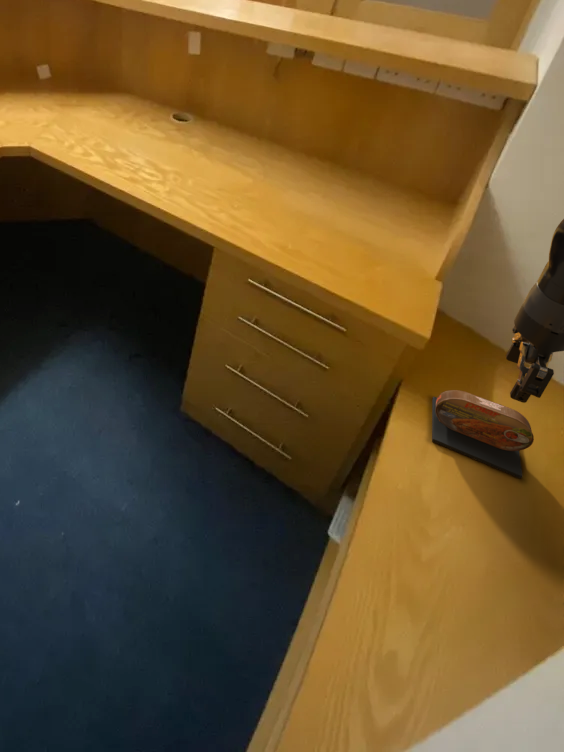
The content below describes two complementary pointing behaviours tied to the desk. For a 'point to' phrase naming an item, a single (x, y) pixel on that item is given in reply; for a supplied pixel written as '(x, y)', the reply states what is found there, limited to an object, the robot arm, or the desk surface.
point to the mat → (475, 447)
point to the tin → (484, 420)
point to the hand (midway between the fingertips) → (514, 379)
